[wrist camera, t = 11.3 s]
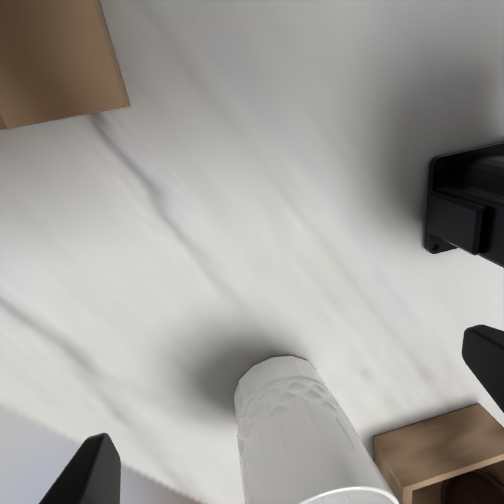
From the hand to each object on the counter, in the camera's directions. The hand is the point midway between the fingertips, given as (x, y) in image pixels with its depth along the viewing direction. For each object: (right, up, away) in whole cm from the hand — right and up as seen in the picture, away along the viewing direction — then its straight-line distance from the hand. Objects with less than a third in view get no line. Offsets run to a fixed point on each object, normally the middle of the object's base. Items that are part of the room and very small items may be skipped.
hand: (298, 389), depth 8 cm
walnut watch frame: (+16, -17, +25) cm, 34 cm away
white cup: (+1, -7, +18) cm, 19 cm away
